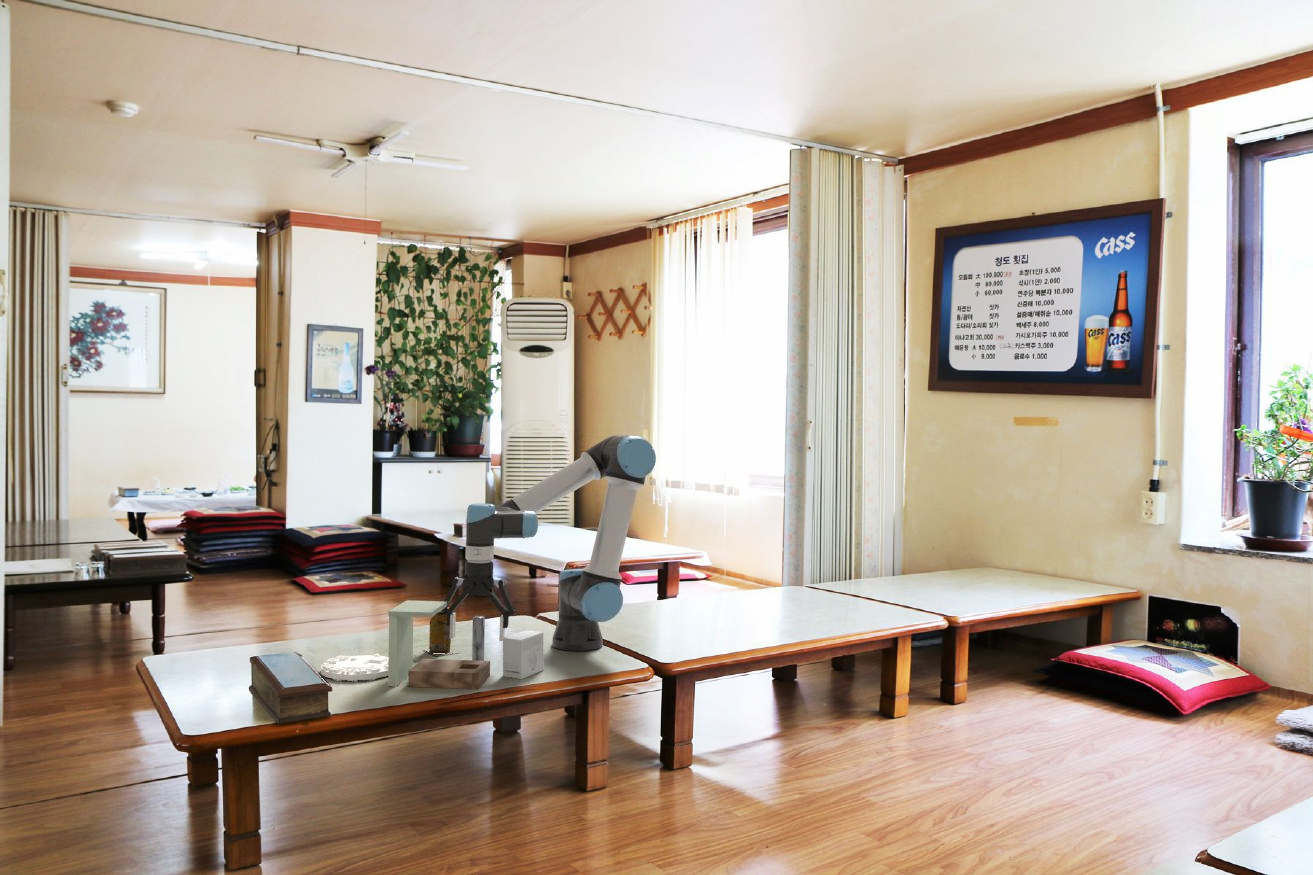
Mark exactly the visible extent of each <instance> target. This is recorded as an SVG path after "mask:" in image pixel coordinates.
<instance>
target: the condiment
mask: <svg viewBox="0 0 1313 875" xmlns="http://www.w3.org/2000/svg"><path fill="white" fill-rule="evenodd" d="M428 641H429V642H428V643H429V644H428V646H429V647H428V649H426V650H429V652H426V651H424V652H426V653H428V654H431V655H432V656H436V657H437V656H438V657H439V656H448V655H449V656H450V655H452V653H453V654H459V653H460V652H459V651H456V650H454V651H452V652H450V650H452V649H451V644H452V639H450V626H447V614H446V613H445V612H442V611H440V612H438V613H437V614H435V615H434V616H433V617H430V620H429V640H428ZM433 653H445V654H433ZM448 653H449V654H448Z"/></svg>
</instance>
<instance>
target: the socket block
mask: <svg viewBox="0 0 1313 875" xmlns="http://www.w3.org/2000/svg"><path fill="white" fill-rule="evenodd" d="M490 676H491V661H490V660H484V661H475V660H472V659H471V660H470V659H469V660H468V659H467V660H466V659H441V658H439V659H438V658H422V659H421V660H420V661H419V662H418V663H417V664H415V665H413V668H411V669H410V670H409V672H408V677H407V678H408V684H407V686H408V687H409V688H411V687H412V688H431V689H432V688H436V689H439V688H440V689H458V690H459V689H463V690H479V689H480V688H481V687H482V686H483V685H484V684H485V683H486V681H487V680H488V679H489V678H490Z"/></svg>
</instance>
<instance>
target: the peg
mask: <svg viewBox="0 0 1313 875" xmlns="http://www.w3.org/2000/svg"><path fill="white" fill-rule="evenodd" d="M485 619H486V617H485V616H484V615H475V616H473V617H472V635H471V636H472V637H471V638H472V639H471V641H472V642H471V660H475V661H485V628H486V626H485V623H486V620H485Z"/></svg>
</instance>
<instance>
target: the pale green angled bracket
mask: <svg viewBox="0 0 1313 875" xmlns="http://www.w3.org/2000/svg"><path fill="white" fill-rule="evenodd" d="M445 607H447V602H444V600H442V601H441V600H440V601H438V600H437V601H436V600H405V601H403V602H402V603H400V604H398V605H397V606H395V607H393V608H391V609H390V610H388V611H387V612H388V614H387V615H388V657H389V664H388V677H387V679H388V680H387V681H388V682H387V687H388V686H395V688H396V687H398V686H399V685H400V684H401V683H402V682H404V680H406V679H407V678H408V672H409V670H410V669H411V668H413V667H414V665H413V663H414V660H413V659H414V658H413V656H414V653H413V652H414V618H415V617H416V618H431V617H433V616H434V615H435V614H437V613H438V612H440V611H441V610H442V609H444V608H445ZM399 683H400V684H399ZM397 685H398V686H397Z"/></svg>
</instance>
